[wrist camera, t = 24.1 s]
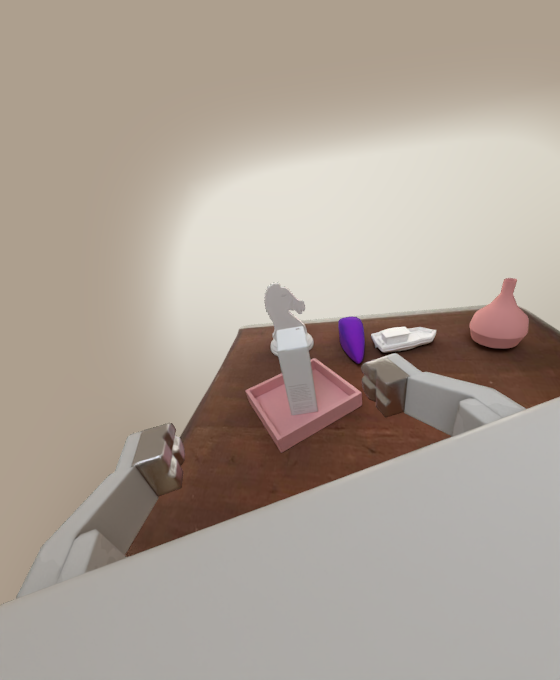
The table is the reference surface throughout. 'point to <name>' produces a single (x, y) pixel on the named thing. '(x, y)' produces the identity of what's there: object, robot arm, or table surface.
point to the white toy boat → (402, 338)
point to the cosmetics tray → (292, 429)
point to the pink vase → (500, 320)
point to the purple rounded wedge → (352, 337)
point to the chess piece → (284, 311)
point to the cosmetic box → (296, 370)
